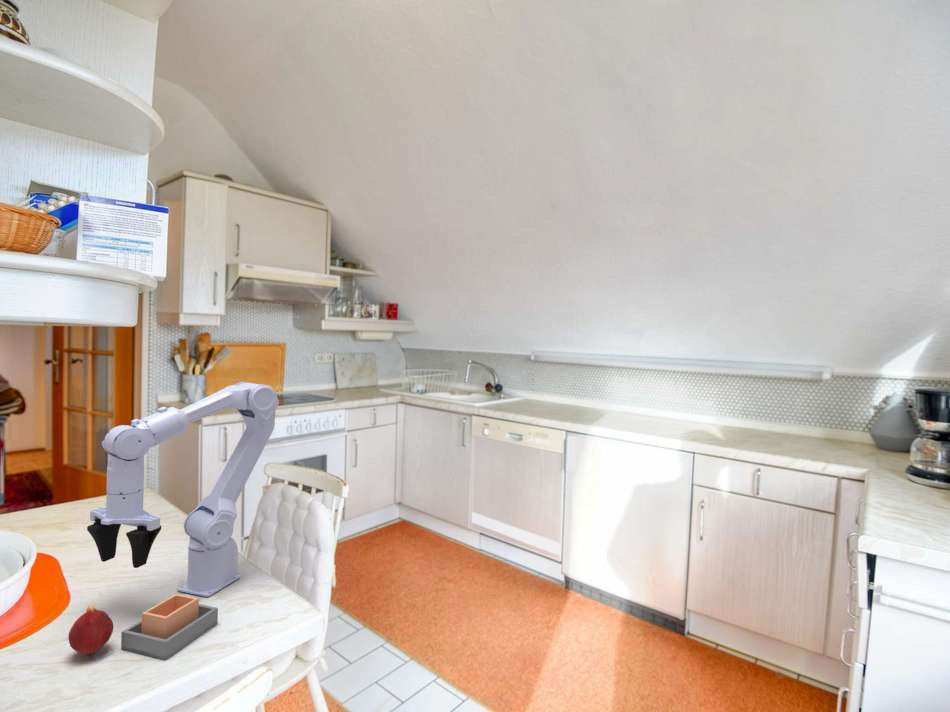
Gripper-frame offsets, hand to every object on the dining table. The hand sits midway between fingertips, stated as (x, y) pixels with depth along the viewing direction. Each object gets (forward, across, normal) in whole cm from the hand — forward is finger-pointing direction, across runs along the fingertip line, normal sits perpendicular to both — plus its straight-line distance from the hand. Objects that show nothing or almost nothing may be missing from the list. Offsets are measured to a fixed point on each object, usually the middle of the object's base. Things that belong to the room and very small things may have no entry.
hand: (123, 562), depth 94 cm
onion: (+10, +6, -10) cm, 16 cm away
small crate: (+9, +14, -3) cm, 17 cm away
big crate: (+10, +14, -2) cm, 17 cm away
